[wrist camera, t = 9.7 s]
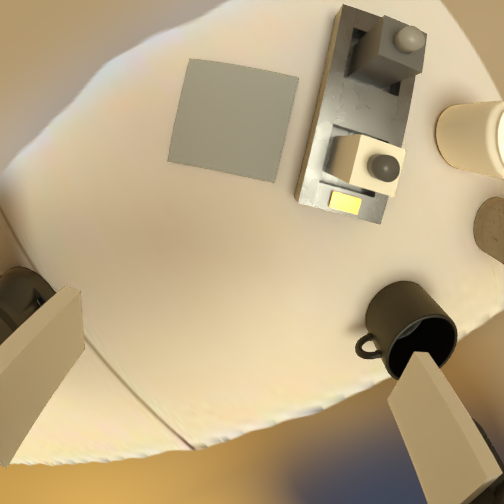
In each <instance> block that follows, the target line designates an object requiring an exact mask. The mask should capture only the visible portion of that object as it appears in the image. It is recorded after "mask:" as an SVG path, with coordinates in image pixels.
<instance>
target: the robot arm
mask: <svg viewBox="0 0 504 504" xmlns="http://www.w3.org/2000/svg"><path fill="white" fill-rule="evenodd" d="M84 350H85V344H84V334H83V322H82V307H81V291H79V290H75V289H72V288H68V287H65V286H64V287H63V288H62V289H61V290H60V291H58V292H57V293H56V294H55V292H54V291H53V290H52V288H51V287H50V286H49V285H48V283H47V282H46V281H45V280H44V279H43V278H41V277H40V276H39V275H38V274H36V273H35V272H33V271H31V270H29V269H26V268H23V267H15V268H11V269H10V270H8V271H6V272H5V273H3V274H2V275H1V276H0V465H2V466H3V467H5V468H7V467H8V465H9V463H10V462H11V460H12V458H13V456H14V455H15V453H16V451H17V450H18V448H19V447H20V445H21V443H22V442H23V440H24V438H25V437H26V435H27V434H28V432H29V430H30V429H31V427H32V426H33V424H34V422H35V421H36V419H37V418H38V416H39V415H40V413H41V412H42V410H43V409H44V407H45V406H46V404H47V403H48V401H49V400H50V398H51V397H52V395H53V394H54V392H55V391H56V389H57V388H58V386H59V385H60V383H61V382H62V381H63V379H64V378H65V376H66V375H67V373H68V372H69V370H70V369H71V368H72V366H73V365H74V363H75V362H76V361H77V359H78V358H79V356H80V355H81V354H82V352H83V351H84ZM387 401H388V403H389V406H390V408H391V411H392V413H393V415H394V418H395V420H396V422H397V425H398V427H399V430H400V432H401V434H402V437H403V439H404V442H405V445H406V447H407V450H408V452H409V455H410V457H411V459H412V462H413V465H414V467H415V470H416V473H417V475H418V478H419V481H420V483H421V486H422V489H423V492H424V494H425V497H426V500H427V503H428V504H504V464H503V463H502V461H501V459H500V457H499V456H498V454H497V452H496V450H495V449H494V447H493V446H491V444H492V443H491V442H490V440H489V439H488V438H487V435H486V433H485V432H484V430H483V428H482V427H481V426H480V425H479V424H478V423H477V422H476V421H475V420H474V419H473V418H471V417H470V415H469V414H468V412H467V411H466V409H465V407H464V406H463V404H462V403H461V401H460V400H459V398H458V396H457V395H456V393H455V392H454V390H453V389H452V387H451V385H450V384H449V383H448V381H447V379H446V378H445V376H444V375H443V373H442V372H441V370H440V369H439V368H438V366H437V365H436V363H435V362H434V360H433V359H432V357H431V356H430V354H429V353H428V352H415V351H414V353H413V355H412V357H411V358H410V360H409V362H408V364H407V366H406V368H405V370H404V372H403V373H402V375H401V377H400V379H399V381H398V383H397V384H396V386H395V388H394V389H393V391H392V393H391V394H390V396H389V398H388V399H387Z"/></svg>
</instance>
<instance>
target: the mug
mask: <svg viewBox="0 0 504 504" xmlns="http://www.w3.org/2000/svg"><path fill="white" fill-rule="evenodd" d="M366 326H367V329H368V332H369V333H367V335H365V336H363V337H362V338H360V339H359V340H358V341H357V343H356V346H355V351H356V354H357V355H358V356H359V357H361V358H363V359H375V358H381V359H382V361H383V363H384V365H385V367H386V369H387V371H388V373H389V374H390V375H391V376H392V377H393V378H394V379H396V380H399V379H400V377H401V375H402V373H403V372H404V370H405V368H406V366H407V364H408V362H409V360H410V358H411V357H412V355H413V353H414V351H415V352H428V353H429V354H430V356H431V357H432V359H433V360H434V362H435V363H436V365H437V366H438V368H439V369H440V368H441V367H442V366H443V365H444V364H445V363H446V362H447V361H448V359H449V358H450V356H451V354H452V353H453V351H454V349H455V346H456V343H457V336H458V335H457V328H456V325H455V323H454V322H453V321H452V319H451V318H450V317H449V316H448V315H447V314H446V313H445V312H444V311H443V309H442V308H441V307H440V306H439V305H438V304H437V303H436V302H435V301H434V300H433V299H432V298H431V296H430V295H429V294H428V293H427V292H426V291H425V290H424V289H423V288H422V287H421V286H419V285H418V284H415V283H412V282H398V283H394V284H392V285H390V286H388V287H386V288H384V289H383V290H382V291H380V292H379V293H378V294H377V295H376V296H375V298H374V299H373V300H372V302H371V304H370V306H369V308H368V311H367V315H366ZM372 340H373V342H374V344H375V346H376V348H377V350H376V351H375V352H365V351H364V350H362V345H363V344H364V343H366V342H367V341H372Z"/></svg>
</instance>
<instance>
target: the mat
mask: <svg viewBox="0 0 504 504" xmlns="http://www.w3.org/2000/svg"><path fill="white" fill-rule="evenodd" d="M298 79H299V78H297V77H293V76H289V75H285V74H280V73H276V72H271V71H266V70H261V69H256V68H251V67H245V66H240V65H234V64H227V63H221V62H214V61H206V60H198V59H189V63H188V67H187V71H186V75H185V79H184V84H183V88H182V92H181V97H180V101H179V105H178V110H177V115H176V119H175V124H174V129H173V134H172V139H171V145H170V150H169V155H168V161H167V162H173V163H178V164H184V165H189V166H195V167H200V168H205V169H211V170H216V171H221V172H226V173H230V174H235V175H240V176H245V177H249V178H254V179H259V180H263V181H267V182H272V183H274V182H275V178H276V174H277V170H278V165H279V161H280V157H281V153H282V148H283V144H284V140H285V135H286V131H287V127H288V122H289V118H290V114H291V109H292V105H293V101H294V96H295V92H296V88H297V83H298Z"/></svg>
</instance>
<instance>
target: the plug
mask: <svg viewBox="0 0 504 504" xmlns="http://www.w3.org/2000/svg"><path fill="white" fill-rule="evenodd" d="M405 154H406V150H405V149H402V148H399V147H396V146H394V145H391V144H388V143H385V142H382V141H380V140H377V139H374V138H371V137H368V136H365V135H361V134H360V135H346V136H334V138H333V143H332V147H331V151H330V155H329V159H328V163H327V167H326V171H325V172H326V173H328V174H330V175H332V176H334V177H336V178H338V179H340V180H342V181H344V182H346V183H348V184H351V185H355V186H358V187H361V188H365V189H368V190H372V191H375V192H378V193H381V194H385V195H388V196H391V197H394V196H395V192H396V189H397V185H398V181H399V177H400V174H401V170H402V166H403V162H404V158H405Z"/></svg>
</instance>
